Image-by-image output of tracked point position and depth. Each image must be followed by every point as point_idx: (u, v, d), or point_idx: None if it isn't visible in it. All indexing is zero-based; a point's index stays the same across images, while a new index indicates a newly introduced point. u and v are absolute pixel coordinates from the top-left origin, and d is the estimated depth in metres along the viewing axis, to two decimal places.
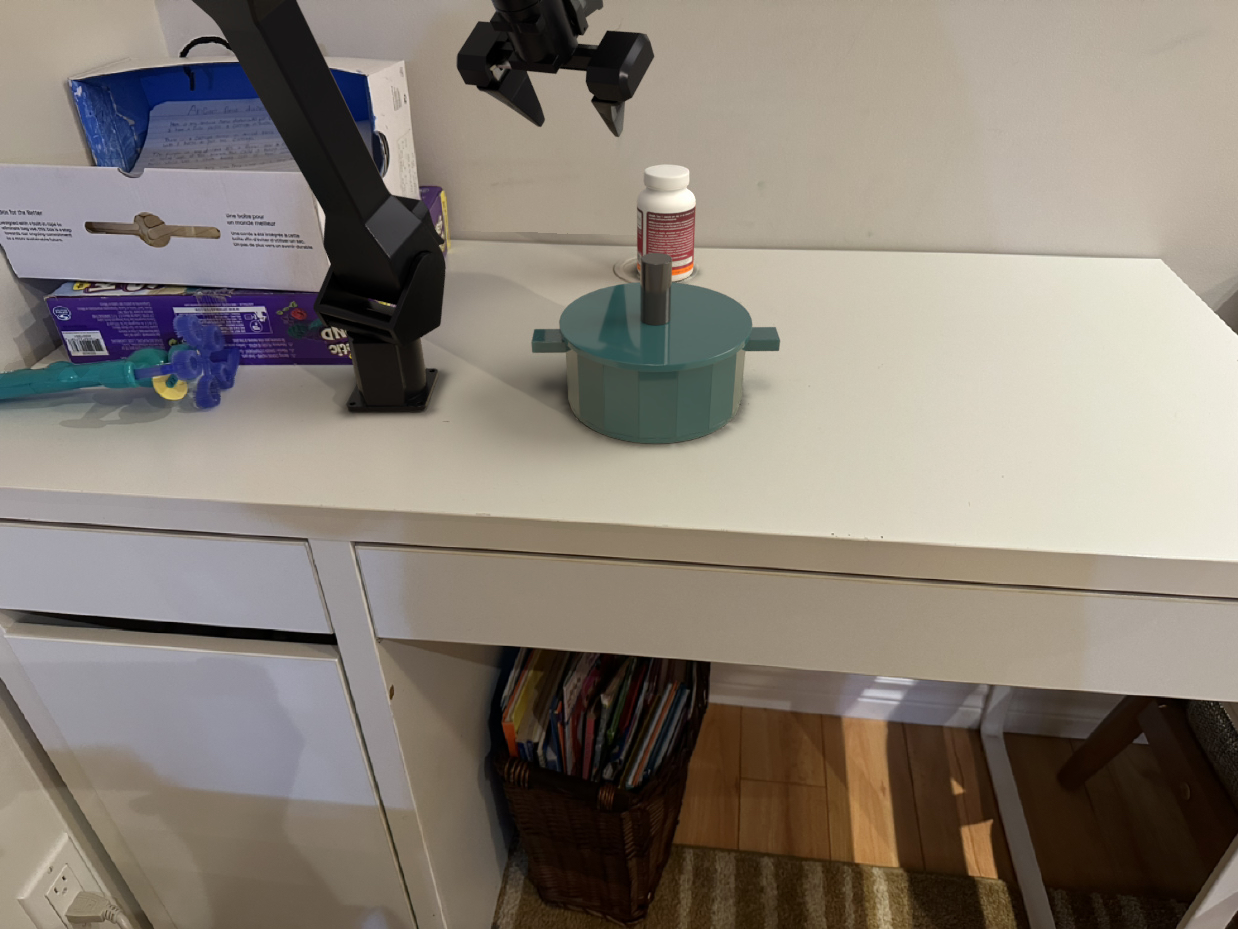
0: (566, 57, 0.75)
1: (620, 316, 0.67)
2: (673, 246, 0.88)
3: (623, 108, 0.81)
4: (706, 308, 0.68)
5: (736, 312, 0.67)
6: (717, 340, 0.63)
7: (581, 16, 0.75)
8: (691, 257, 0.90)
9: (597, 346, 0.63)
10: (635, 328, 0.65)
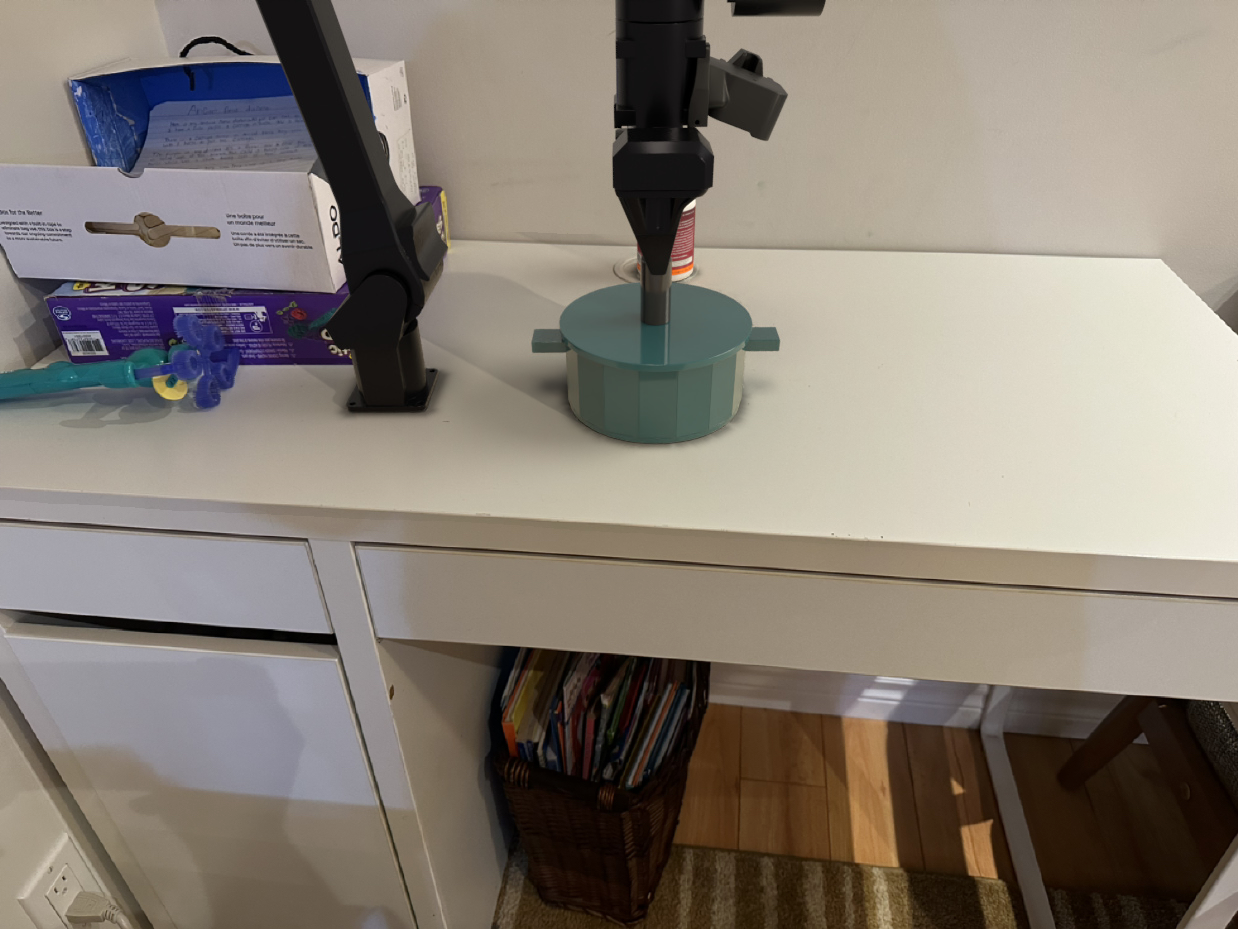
0: (643, 123, 0.56)
1: (620, 316, 0.67)
2: (673, 246, 0.88)
3: (668, 242, 0.57)
4: (706, 308, 0.68)
5: (736, 312, 0.67)
6: (717, 340, 0.63)
7: (700, 103, 0.55)
8: (691, 257, 0.90)
9: (597, 346, 0.63)
10: (635, 328, 0.65)
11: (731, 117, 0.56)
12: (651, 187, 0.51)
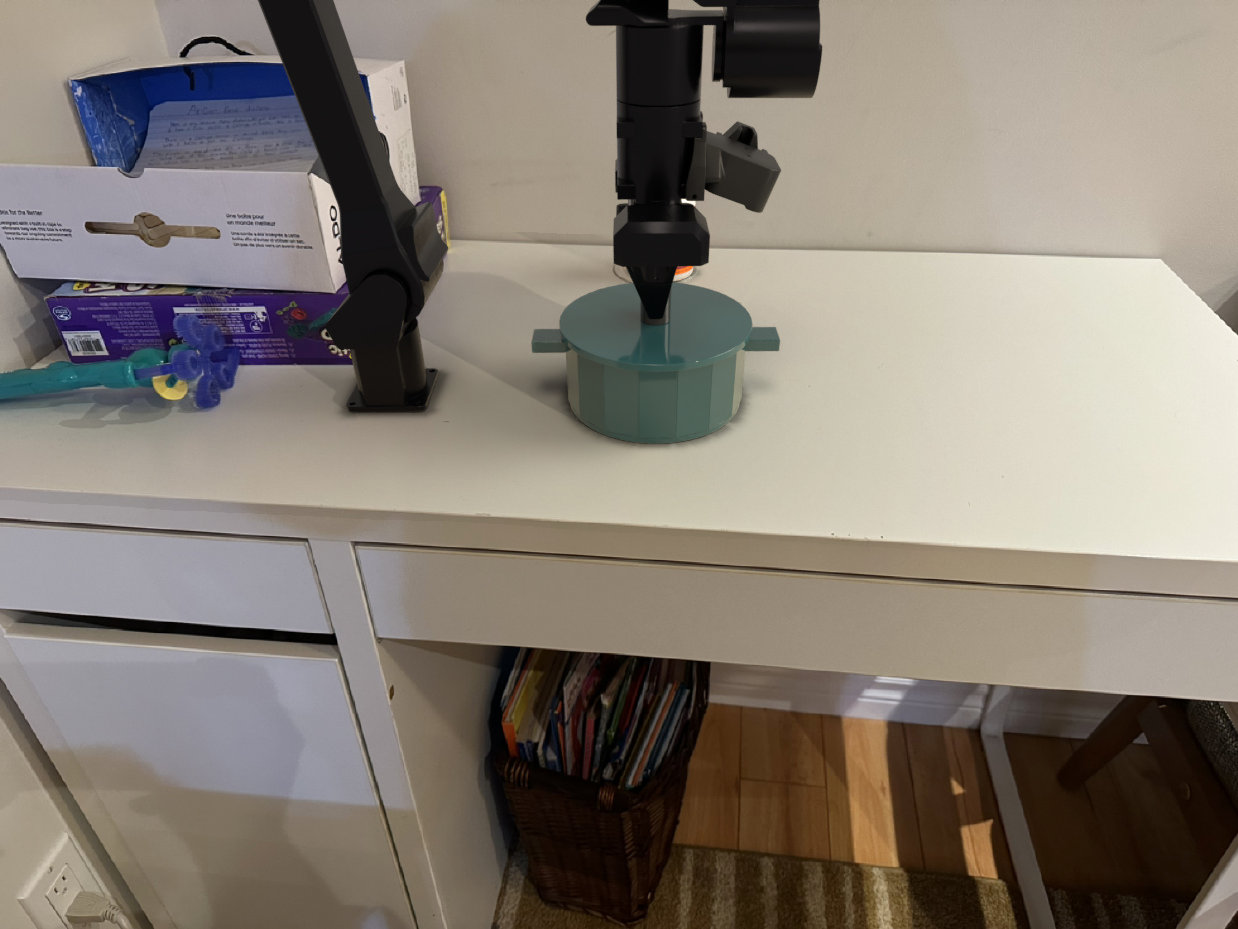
0: (643, 197, 0.58)
1: (620, 316, 0.67)
2: None
3: (665, 290, 0.63)
4: (706, 308, 0.68)
5: (736, 312, 0.67)
6: (717, 340, 0.63)
7: (697, 179, 0.57)
8: None
9: (597, 346, 0.63)
10: (635, 328, 0.65)
11: (727, 191, 0.58)
12: (650, 264, 0.54)
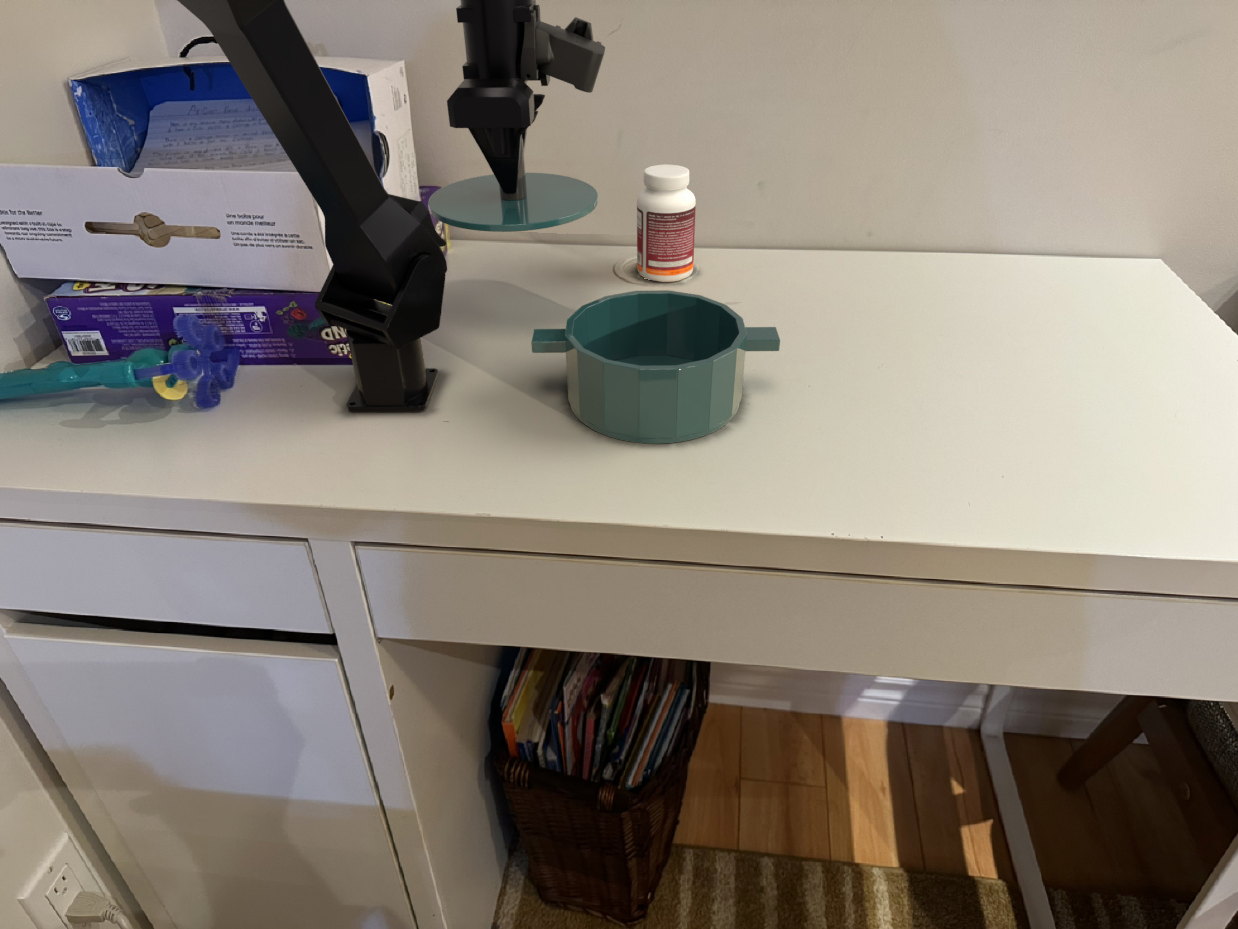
0: (485, 76, 0.68)
1: (484, 194, 0.76)
2: (673, 246, 0.88)
3: (513, 165, 0.72)
4: (561, 189, 0.77)
5: (586, 192, 0.77)
6: (560, 209, 0.73)
7: (528, 60, 0.67)
8: (691, 257, 0.90)
9: (455, 213, 0.72)
10: (493, 202, 0.75)
11: (557, 72, 0.68)
12: (479, 125, 0.63)
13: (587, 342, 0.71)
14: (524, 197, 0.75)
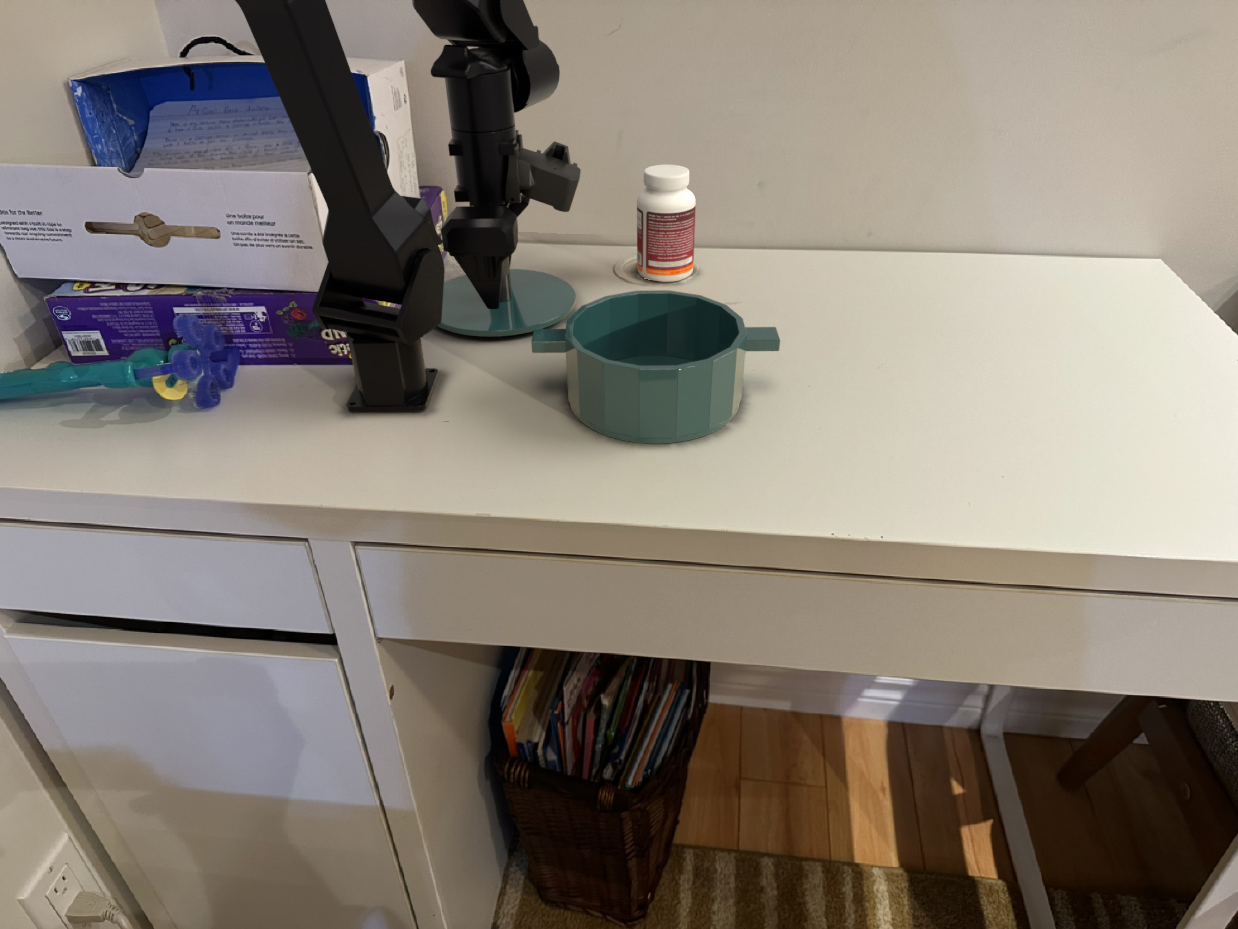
0: (474, 200, 0.76)
1: (473, 295, 0.85)
2: (673, 246, 0.88)
3: (496, 286, 0.78)
4: (543, 289, 0.86)
5: (565, 292, 0.86)
6: (542, 313, 0.81)
7: (512, 186, 0.76)
8: (691, 257, 0.90)
9: (448, 317, 0.81)
10: (482, 304, 0.83)
11: (538, 196, 0.76)
12: (469, 250, 0.72)
13: (587, 342, 0.71)
14: (509, 299, 0.84)
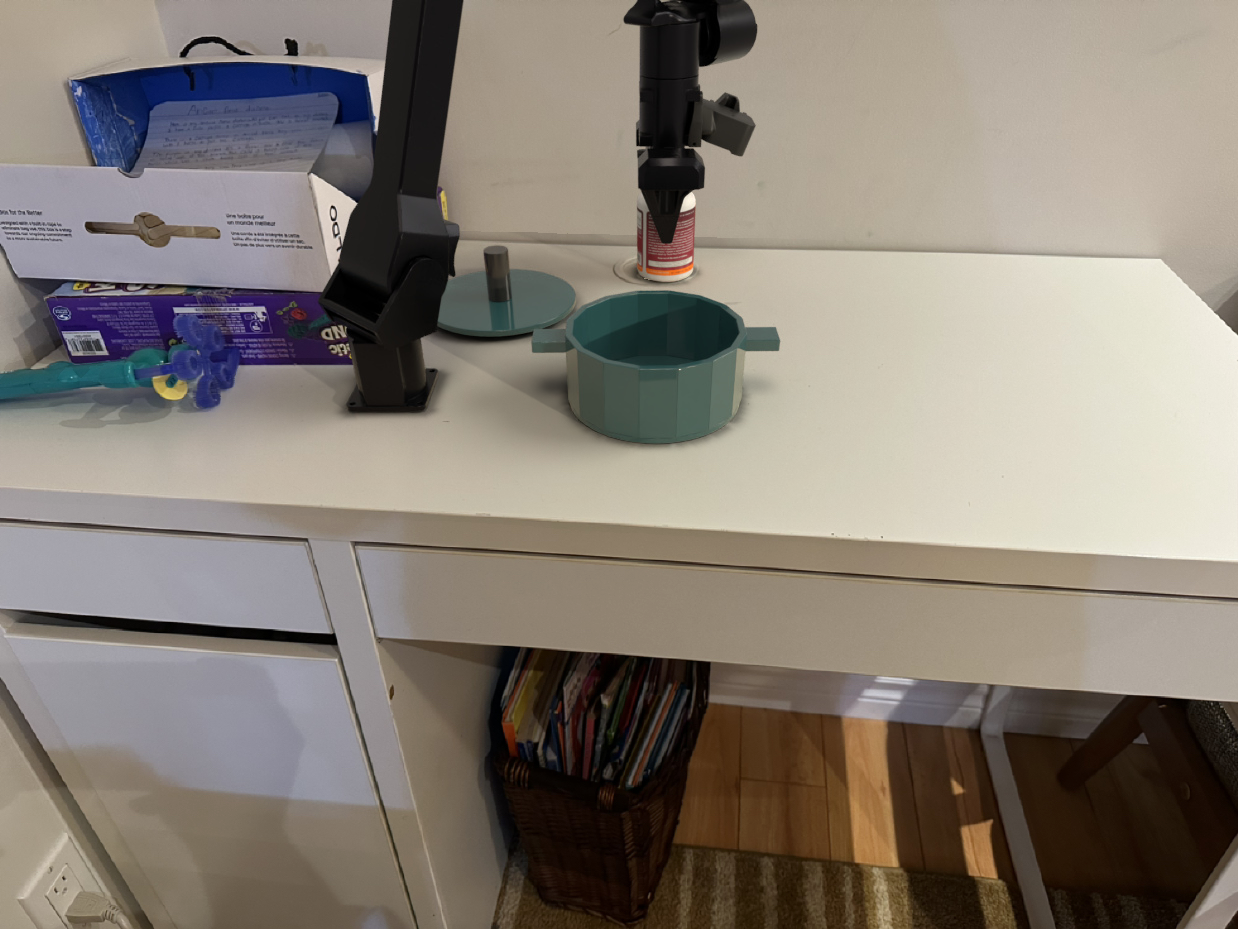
0: (658, 144, 0.82)
1: (473, 295, 0.85)
2: (673, 246, 0.88)
3: (674, 220, 0.85)
4: (543, 289, 0.86)
5: (565, 292, 0.86)
6: (542, 313, 0.81)
7: (696, 131, 0.81)
8: (691, 257, 0.90)
9: (448, 317, 0.81)
10: (482, 304, 0.83)
11: (717, 140, 0.82)
12: (663, 188, 0.78)
13: (587, 342, 0.71)
14: (509, 299, 0.84)
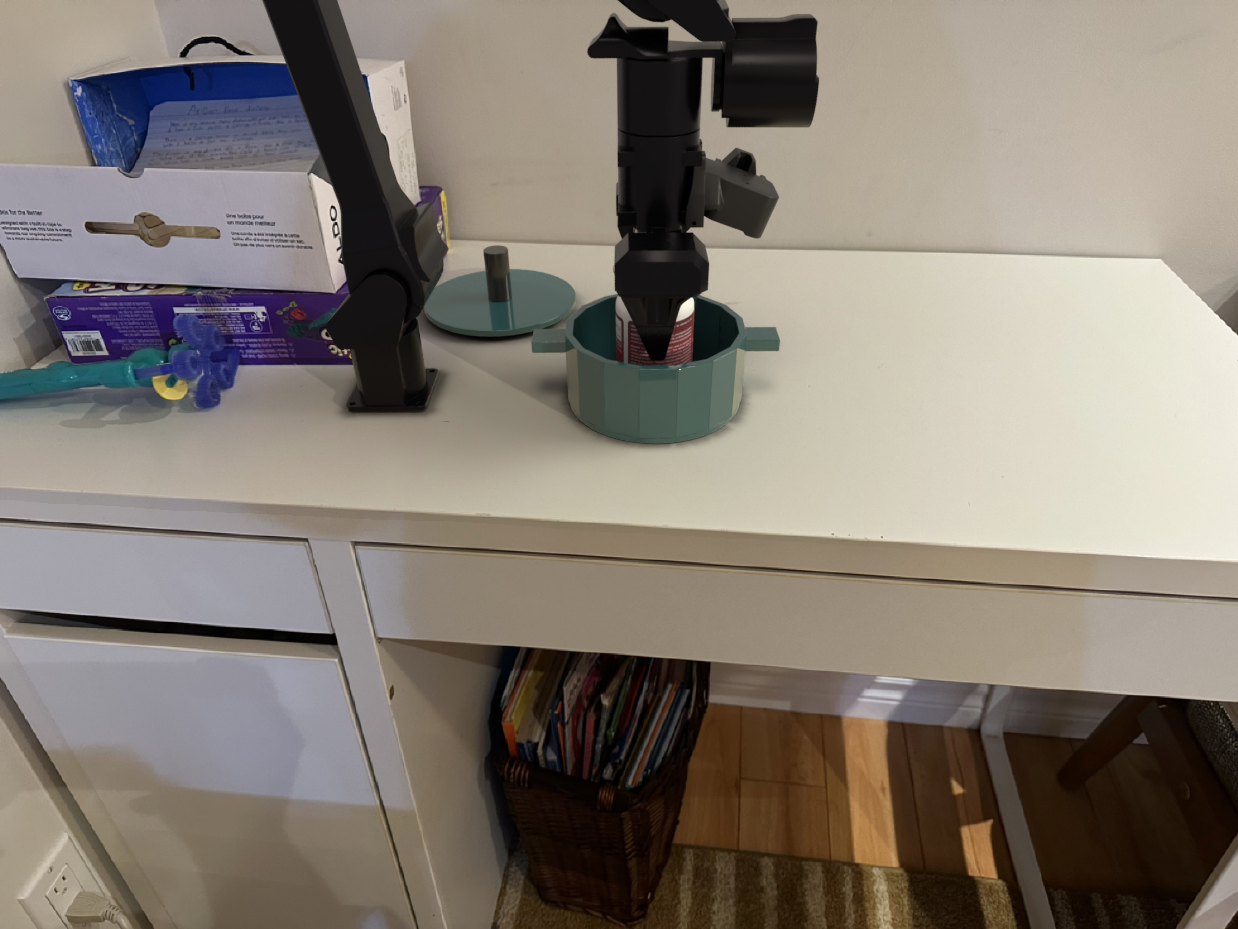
0: (643, 224, 0.59)
1: (473, 295, 0.85)
2: None
3: (667, 333, 0.61)
4: (543, 289, 0.86)
5: (565, 292, 0.86)
6: (542, 313, 0.81)
7: (696, 207, 0.58)
8: None
9: (448, 317, 0.81)
10: (482, 304, 0.83)
11: (726, 218, 0.59)
12: (650, 291, 0.55)
13: (587, 342, 0.71)
14: (509, 299, 0.84)
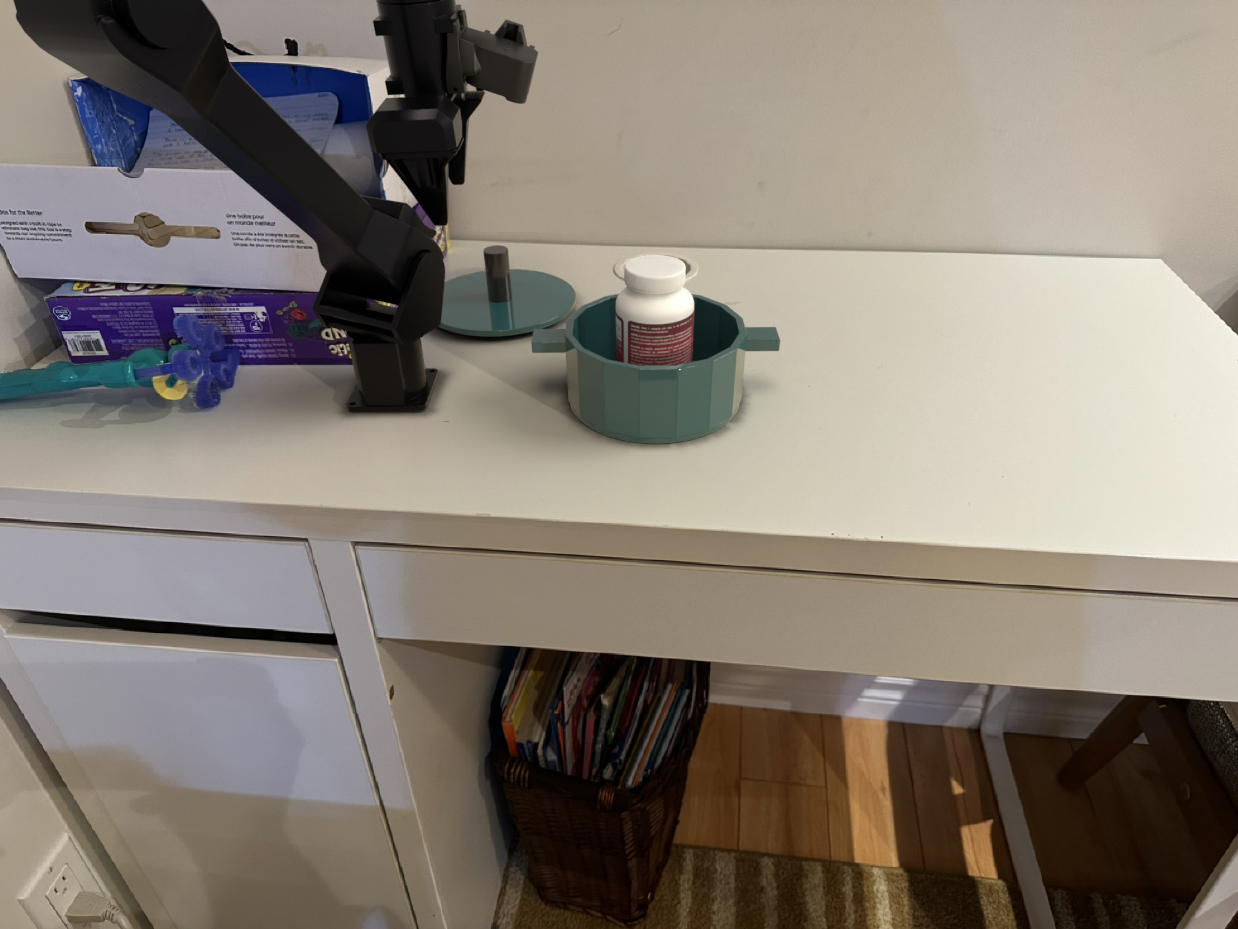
0: (409, 92, 0.64)
1: (473, 295, 0.85)
2: None
3: (441, 196, 0.66)
4: (543, 289, 0.86)
5: (565, 292, 0.86)
6: (542, 313, 0.81)
7: (454, 73, 0.63)
8: None
9: (448, 317, 0.81)
10: (482, 304, 0.83)
11: (486, 84, 0.64)
12: (402, 150, 0.60)
13: (587, 342, 0.71)
14: (509, 299, 0.84)
